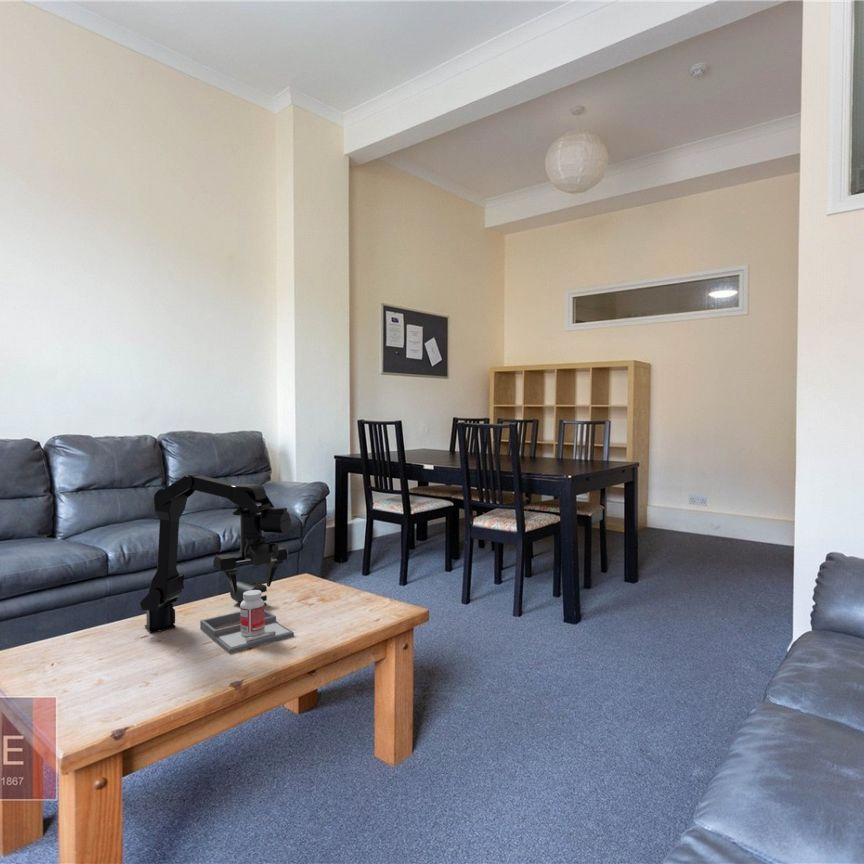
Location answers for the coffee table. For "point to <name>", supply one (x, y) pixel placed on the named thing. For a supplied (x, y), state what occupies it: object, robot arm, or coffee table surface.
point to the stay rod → (260, 636)
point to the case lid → (237, 641)
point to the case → (209, 623)
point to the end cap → (247, 587)
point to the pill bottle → (252, 614)
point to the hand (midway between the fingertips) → (252, 589)
